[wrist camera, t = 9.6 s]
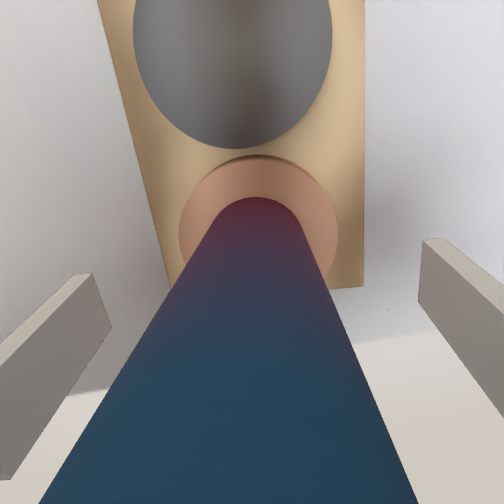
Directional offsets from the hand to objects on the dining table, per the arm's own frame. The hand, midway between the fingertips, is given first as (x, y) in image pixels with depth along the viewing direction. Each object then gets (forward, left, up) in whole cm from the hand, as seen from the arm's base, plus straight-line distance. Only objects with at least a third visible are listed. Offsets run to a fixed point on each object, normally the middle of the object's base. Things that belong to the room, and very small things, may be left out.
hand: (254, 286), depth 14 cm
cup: (0, 0, -5) cm, 5 cm away
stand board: (0, +4, -8) cm, 9 cm away
